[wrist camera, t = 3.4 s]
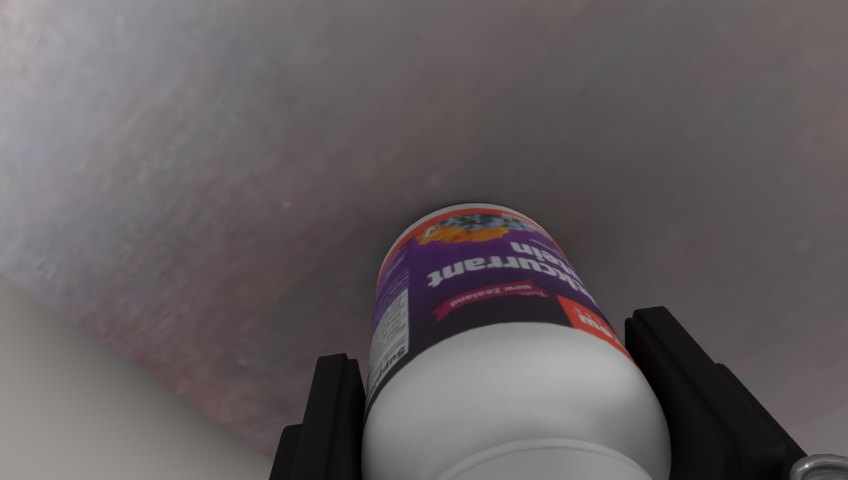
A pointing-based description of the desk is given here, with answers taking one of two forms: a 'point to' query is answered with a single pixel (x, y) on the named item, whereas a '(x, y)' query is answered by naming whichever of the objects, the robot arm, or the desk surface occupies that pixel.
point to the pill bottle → (500, 363)
